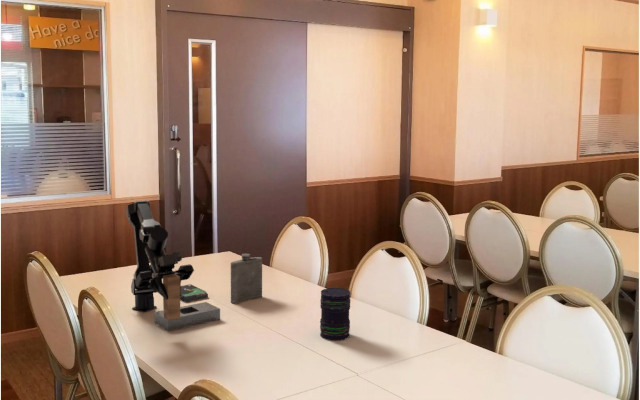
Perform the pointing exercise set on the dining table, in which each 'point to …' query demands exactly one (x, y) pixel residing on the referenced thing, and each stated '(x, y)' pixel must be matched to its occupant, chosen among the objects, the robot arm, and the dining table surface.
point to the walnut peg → (172, 297)
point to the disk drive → (192, 293)
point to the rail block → (189, 316)
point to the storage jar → (335, 314)
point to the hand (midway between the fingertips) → (173, 297)
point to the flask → (246, 279)
